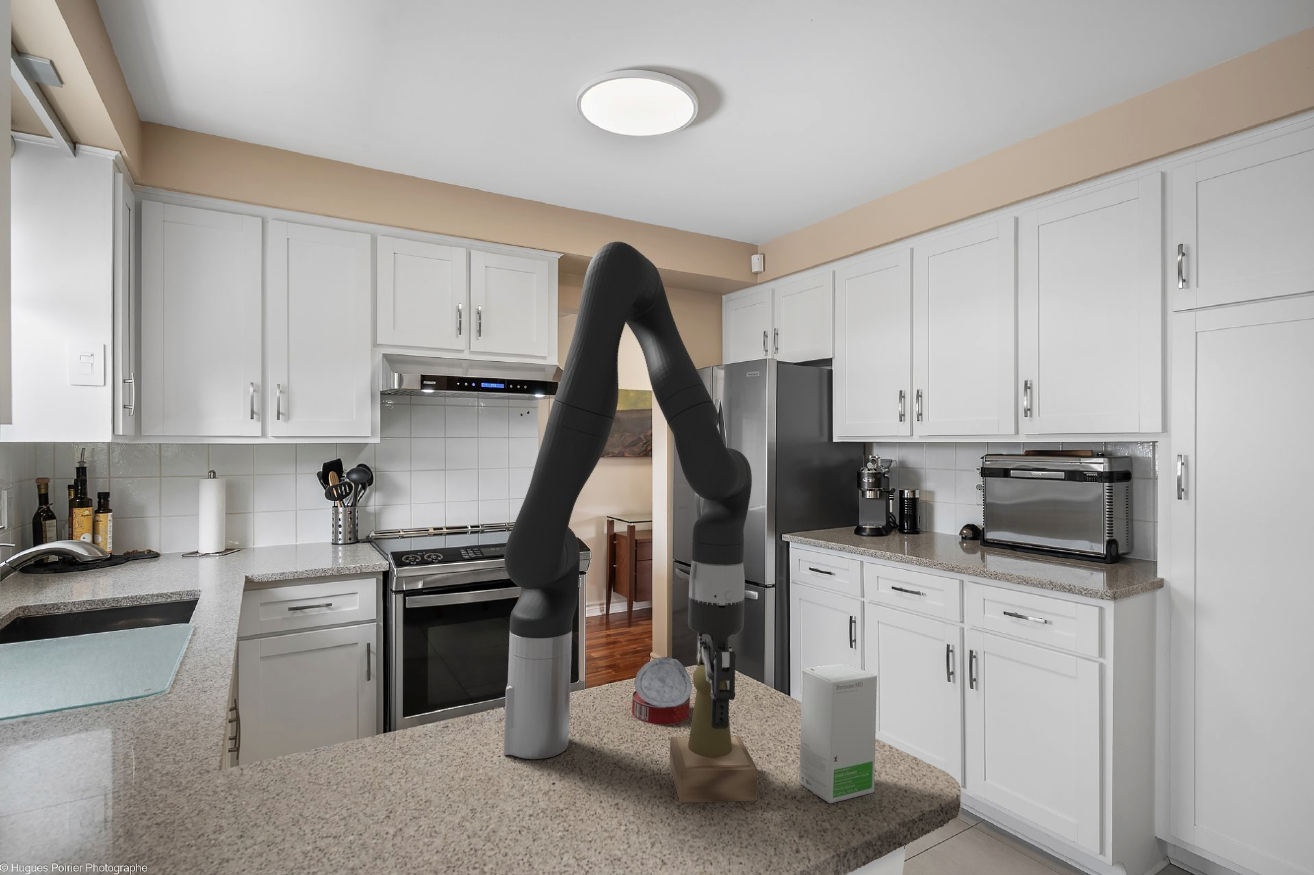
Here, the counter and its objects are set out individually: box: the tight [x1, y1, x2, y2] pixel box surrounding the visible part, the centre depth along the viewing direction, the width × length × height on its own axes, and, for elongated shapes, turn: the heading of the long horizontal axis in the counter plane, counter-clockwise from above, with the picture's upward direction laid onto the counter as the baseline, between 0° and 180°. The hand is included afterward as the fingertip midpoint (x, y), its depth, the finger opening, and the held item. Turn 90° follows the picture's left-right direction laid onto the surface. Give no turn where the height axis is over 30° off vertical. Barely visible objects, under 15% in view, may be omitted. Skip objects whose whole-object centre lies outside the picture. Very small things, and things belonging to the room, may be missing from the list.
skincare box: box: [798, 663, 878, 804], centre depth 90 cm, size 8×7×16 cm
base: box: [669, 735, 759, 804], centre depth 90 cm, size 10×10×4 cm
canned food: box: [631, 656, 693, 726], centre depth 114 cm, size 11×10×10 cm
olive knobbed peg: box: [688, 664, 732, 757], centre depth 92 cm, size 6×6×11 cm
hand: (713, 714), depth 90 cm, fingers open, 8 cm apart
